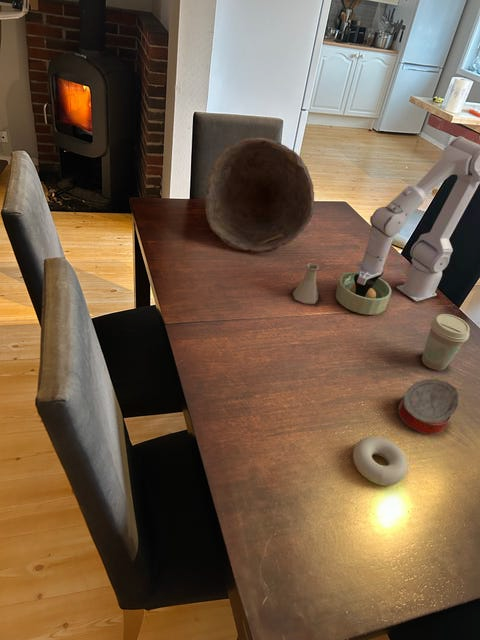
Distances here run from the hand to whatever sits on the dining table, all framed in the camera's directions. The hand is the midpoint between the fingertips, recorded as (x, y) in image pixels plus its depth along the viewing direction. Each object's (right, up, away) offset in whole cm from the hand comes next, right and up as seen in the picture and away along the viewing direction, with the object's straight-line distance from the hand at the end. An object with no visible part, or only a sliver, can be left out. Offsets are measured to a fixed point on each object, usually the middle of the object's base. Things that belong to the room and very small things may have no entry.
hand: (361, 295), depth 132 cm
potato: (0, -1, +1) cm, 1 cm away
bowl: (-27, +21, +26) cm, 43 cm away
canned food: (+4, -27, -32) cm, 43 cm away
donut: (-9, -34, -44) cm, 56 cm away
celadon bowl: (0, -2, +1) cm, 2 cm away
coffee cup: (+13, -17, -17) cm, 28 cm away
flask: (-16, -1, -1) cm, 16 cm away
